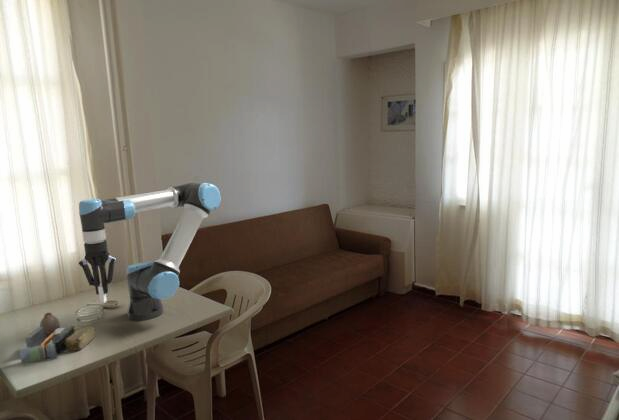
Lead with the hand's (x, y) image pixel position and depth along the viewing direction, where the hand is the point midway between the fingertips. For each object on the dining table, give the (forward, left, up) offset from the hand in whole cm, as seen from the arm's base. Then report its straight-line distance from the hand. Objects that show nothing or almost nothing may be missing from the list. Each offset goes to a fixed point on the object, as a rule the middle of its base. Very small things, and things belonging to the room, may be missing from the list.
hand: (103, 301), depth 162 cm
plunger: (+17, +2, -16) cm, 23 cm away
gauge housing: (+21, +2, -16) cm, 27 cm away
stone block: (+10, 0, -16) cm, 19 cm away
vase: (+27, -14, -16) cm, 34 cm away
